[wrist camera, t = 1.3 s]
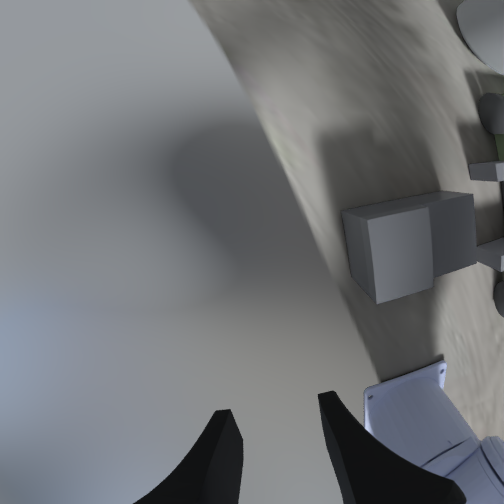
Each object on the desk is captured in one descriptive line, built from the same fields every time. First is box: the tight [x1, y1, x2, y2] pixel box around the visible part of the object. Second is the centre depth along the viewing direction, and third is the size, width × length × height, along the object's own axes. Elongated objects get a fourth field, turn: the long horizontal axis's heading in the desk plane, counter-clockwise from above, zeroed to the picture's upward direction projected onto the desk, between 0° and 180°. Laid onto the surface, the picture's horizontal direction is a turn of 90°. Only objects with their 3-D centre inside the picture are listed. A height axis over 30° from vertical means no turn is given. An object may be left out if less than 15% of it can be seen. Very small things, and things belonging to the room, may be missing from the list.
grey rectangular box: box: [341, 191, 477, 304], centre depth 16 cm, size 4×8×5 cm, turn 103°
